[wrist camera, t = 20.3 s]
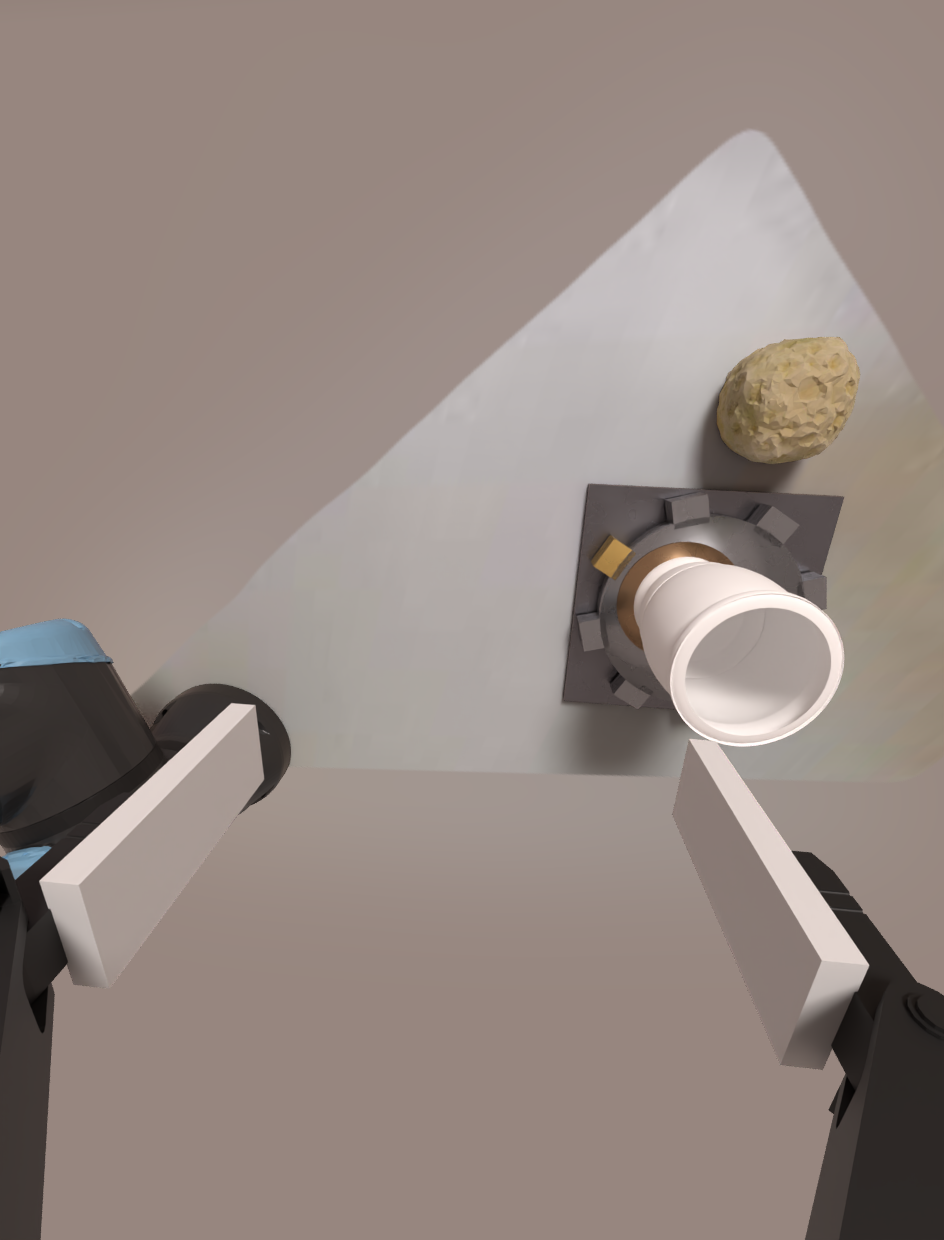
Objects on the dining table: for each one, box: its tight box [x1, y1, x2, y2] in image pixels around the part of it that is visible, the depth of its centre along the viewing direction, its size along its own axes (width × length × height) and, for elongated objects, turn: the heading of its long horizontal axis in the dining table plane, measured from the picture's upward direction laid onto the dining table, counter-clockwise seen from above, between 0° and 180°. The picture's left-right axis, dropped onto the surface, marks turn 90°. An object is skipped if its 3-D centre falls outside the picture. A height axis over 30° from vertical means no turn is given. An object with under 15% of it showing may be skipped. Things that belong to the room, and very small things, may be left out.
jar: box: [634, 557, 844, 746], centre depth 38 cm, size 11×10×15 cm
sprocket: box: [577, 492, 826, 709], centre depth 44 cm, size 22×22×8 cm
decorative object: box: [717, 337, 860, 464], centre depth 39 cm, size 9×10×10 cm
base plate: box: [563, 484, 844, 709], centre depth 48 cm, size 22×22×1 cm
